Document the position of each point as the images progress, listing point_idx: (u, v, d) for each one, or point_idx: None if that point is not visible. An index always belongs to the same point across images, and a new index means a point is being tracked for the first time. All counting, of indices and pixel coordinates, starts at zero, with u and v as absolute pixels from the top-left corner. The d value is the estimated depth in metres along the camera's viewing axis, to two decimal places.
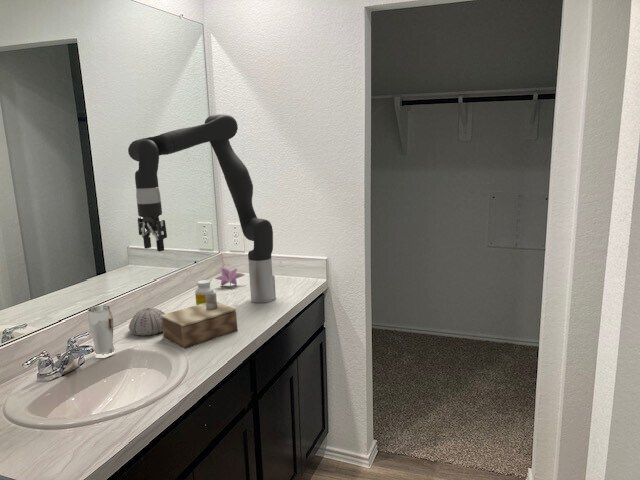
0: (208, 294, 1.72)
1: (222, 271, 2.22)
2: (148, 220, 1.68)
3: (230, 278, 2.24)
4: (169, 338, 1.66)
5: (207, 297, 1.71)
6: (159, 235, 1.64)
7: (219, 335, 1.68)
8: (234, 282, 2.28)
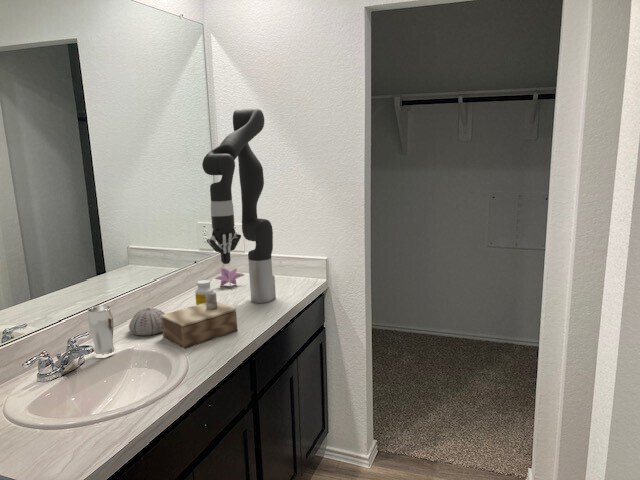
0: (208, 294, 1.72)
1: (222, 271, 2.23)
2: (226, 231, 1.73)
3: (230, 278, 2.24)
4: (169, 338, 1.66)
5: (207, 297, 1.71)
6: (234, 247, 1.76)
7: (219, 335, 1.68)
8: (234, 282, 2.29)
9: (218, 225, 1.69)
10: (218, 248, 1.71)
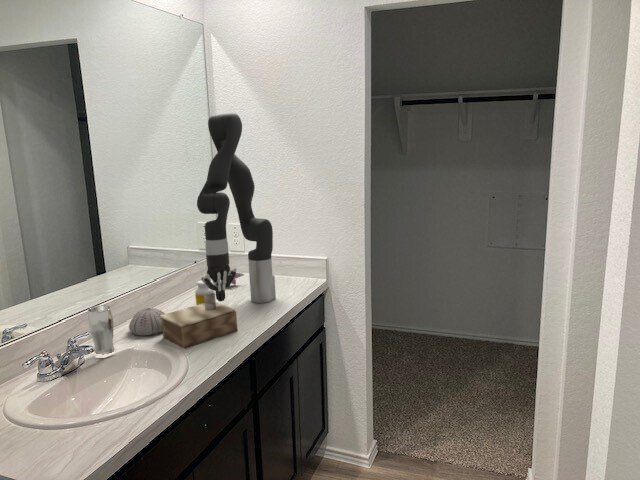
0: (207, 294, 1.72)
1: None
2: (221, 269, 1.73)
3: None
4: (169, 338, 1.66)
5: (206, 297, 1.71)
6: (229, 284, 1.76)
7: (219, 335, 1.68)
8: (233, 282, 2.29)
9: (213, 264, 1.69)
10: (213, 286, 1.71)
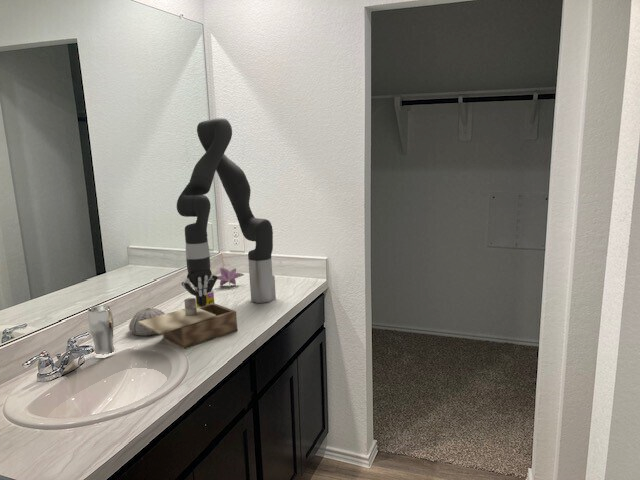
0: (187, 300, 1.67)
1: (221, 271, 2.23)
2: (202, 274, 1.68)
3: (229, 278, 2.24)
4: (169, 338, 1.66)
5: (186, 303, 1.66)
6: (210, 289, 1.71)
7: (219, 335, 1.68)
8: (233, 282, 2.29)
9: (193, 268, 1.64)
10: (193, 291, 1.66)
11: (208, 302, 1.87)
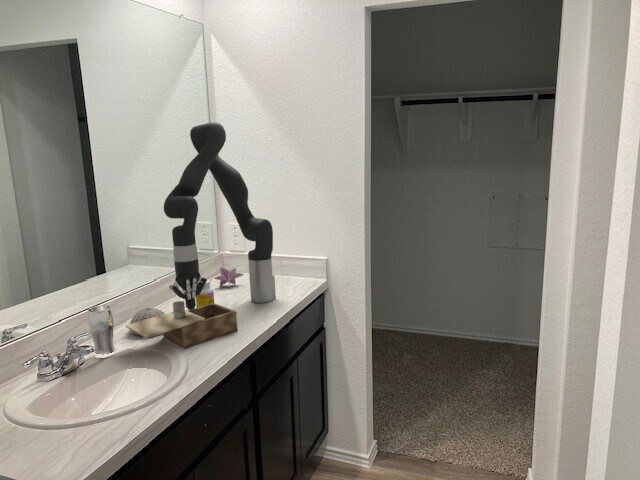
0: (176, 303, 1.64)
1: (221, 271, 2.23)
2: (190, 276, 1.65)
3: (229, 278, 2.24)
4: (169, 338, 1.66)
5: (174, 306, 1.63)
6: (199, 291, 1.68)
7: (219, 335, 1.68)
8: (233, 282, 2.29)
9: (181, 271, 1.61)
10: (182, 294, 1.63)
11: (208, 302, 1.87)
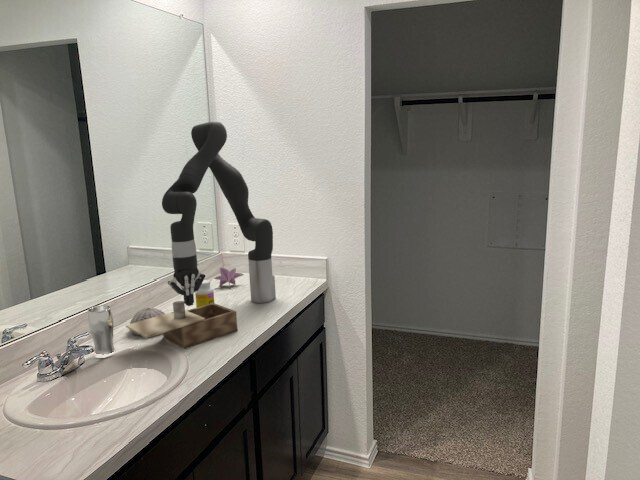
0: (176, 303, 1.64)
1: (221, 271, 2.23)
2: (188, 272, 1.64)
3: (229, 278, 2.24)
4: (169, 338, 1.66)
5: (174, 306, 1.63)
6: (198, 287, 1.67)
7: (219, 335, 1.68)
8: (233, 282, 2.29)
9: (179, 267, 1.61)
10: (180, 290, 1.63)
11: (208, 302, 1.87)
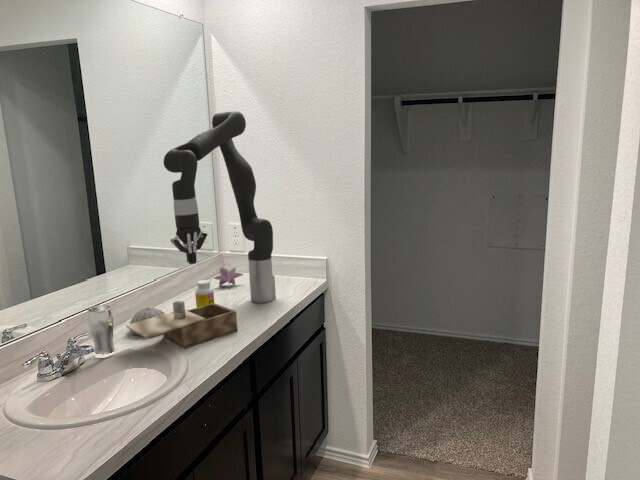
0: (176, 303, 1.64)
1: (221, 271, 2.23)
2: (191, 230, 1.67)
3: (229, 278, 2.24)
4: (169, 338, 1.66)
5: (174, 306, 1.63)
6: (200, 246, 1.70)
7: (219, 335, 1.68)
8: (232, 282, 2.29)
9: (182, 224, 1.63)
10: (183, 248, 1.65)
11: (208, 302, 1.87)
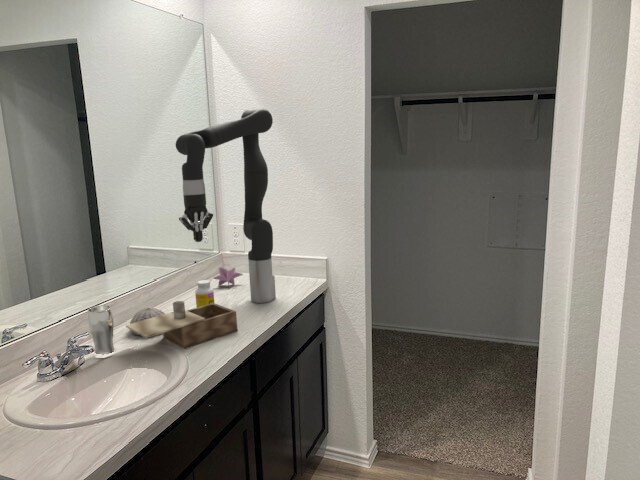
0: (176, 303, 1.64)
1: (220, 271, 2.23)
2: (198, 210, 1.78)
3: (228, 278, 2.25)
4: (169, 338, 1.66)
5: (174, 306, 1.63)
6: (206, 225, 1.81)
7: (219, 335, 1.68)
8: (232, 282, 2.29)
9: (190, 203, 1.74)
10: (190, 226, 1.76)
11: (208, 302, 1.87)
